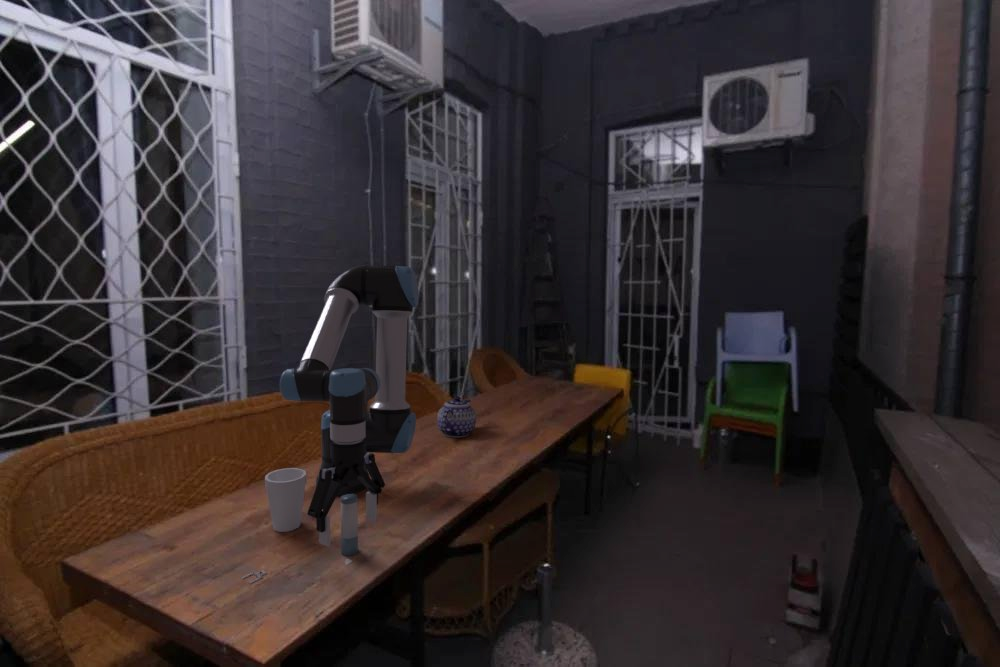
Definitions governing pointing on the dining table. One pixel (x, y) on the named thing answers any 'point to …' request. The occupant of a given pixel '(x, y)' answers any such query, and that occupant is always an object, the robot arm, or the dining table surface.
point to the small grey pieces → (266, 572)
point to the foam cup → (286, 497)
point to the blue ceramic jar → (456, 418)
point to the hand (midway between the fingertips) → (349, 531)
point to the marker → (349, 525)
